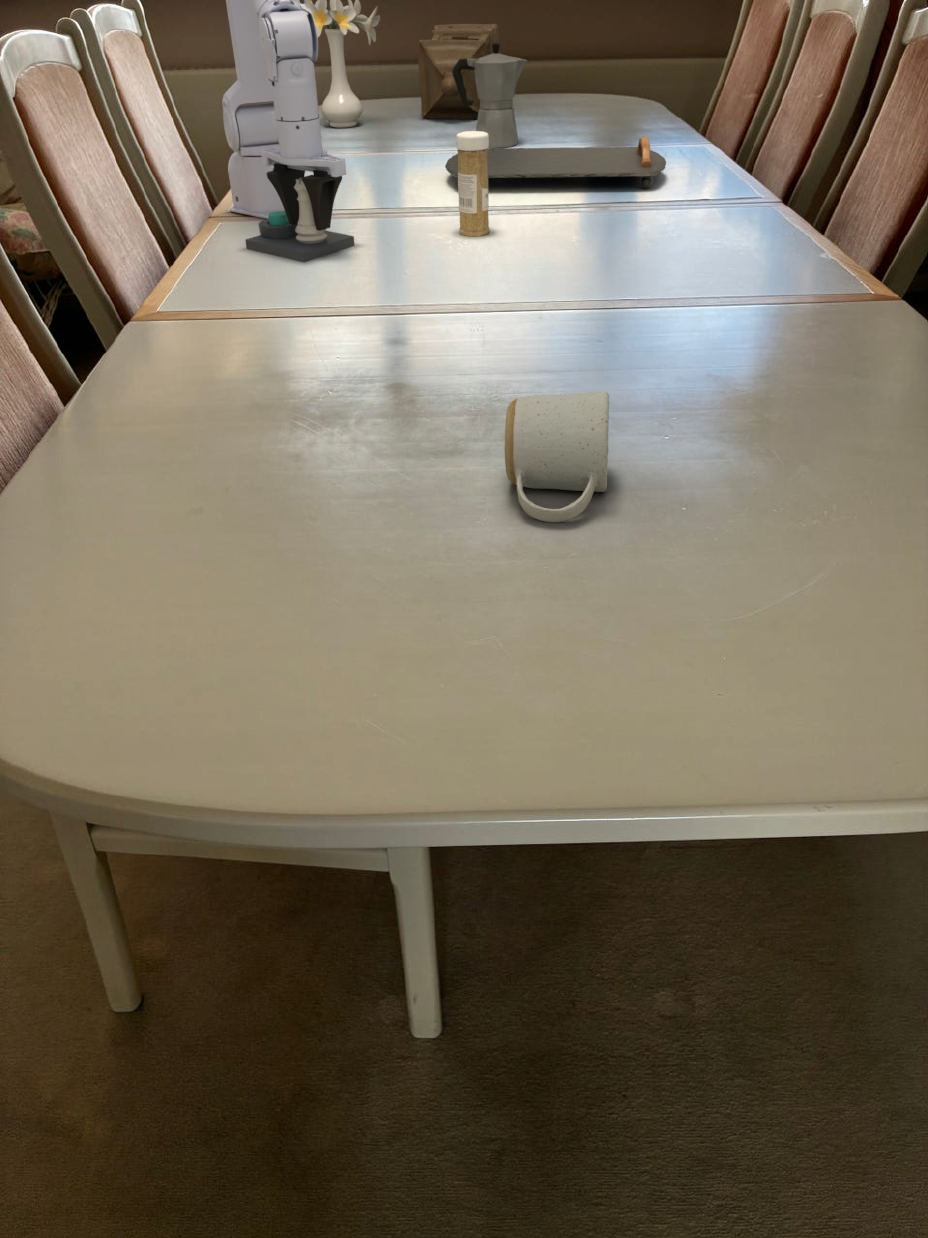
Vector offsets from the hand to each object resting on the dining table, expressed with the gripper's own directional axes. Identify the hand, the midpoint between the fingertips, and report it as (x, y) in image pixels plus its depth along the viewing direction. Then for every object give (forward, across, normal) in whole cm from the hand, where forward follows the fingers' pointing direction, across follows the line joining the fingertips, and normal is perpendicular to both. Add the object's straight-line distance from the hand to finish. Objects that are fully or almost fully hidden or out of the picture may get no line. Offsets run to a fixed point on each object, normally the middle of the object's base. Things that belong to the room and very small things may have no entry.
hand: (309, 225), depth 135 cm
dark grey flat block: (+3, +2, 0) cm, 4 cm away
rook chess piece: (+2, 0, 0) cm, 2 cm away
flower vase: (+3, +70, -77) cm, 104 cm away
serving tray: (+3, -2, -57) cm, 57 cm away
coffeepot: (+3, +26, -76) cm, 81 cm away
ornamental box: (+3, +57, -103) cm, 118 cm away
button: (+1, +6, 0) cm, 7 cm away
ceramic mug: (+3, -68, +38) cm, 78 cm away
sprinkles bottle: (+3, -14, -20) cm, 24 cm away
